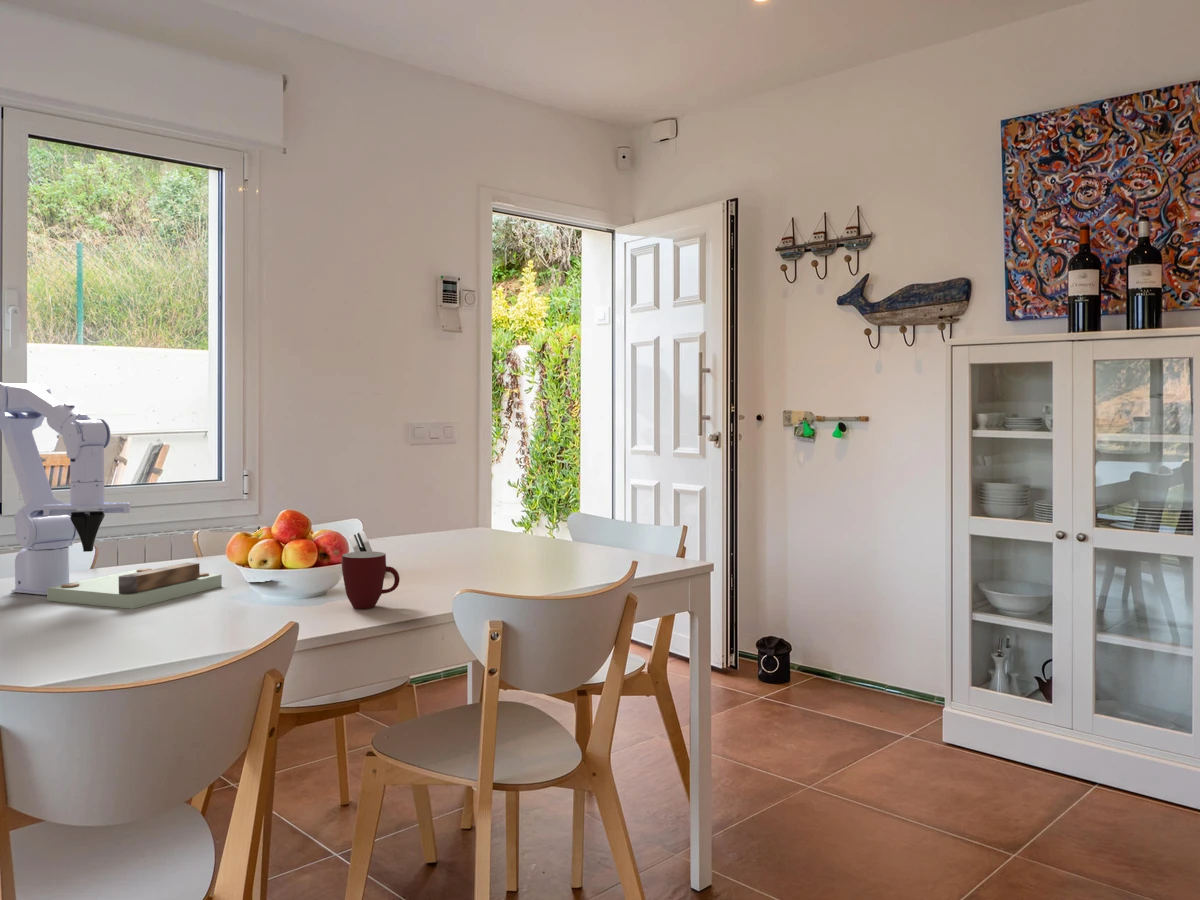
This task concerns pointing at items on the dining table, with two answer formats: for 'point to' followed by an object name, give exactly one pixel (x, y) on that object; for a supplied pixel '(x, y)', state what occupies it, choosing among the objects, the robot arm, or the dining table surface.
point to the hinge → (362, 540)
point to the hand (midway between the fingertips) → (88, 550)
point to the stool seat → (107, 593)
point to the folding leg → (158, 577)
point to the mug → (366, 577)
